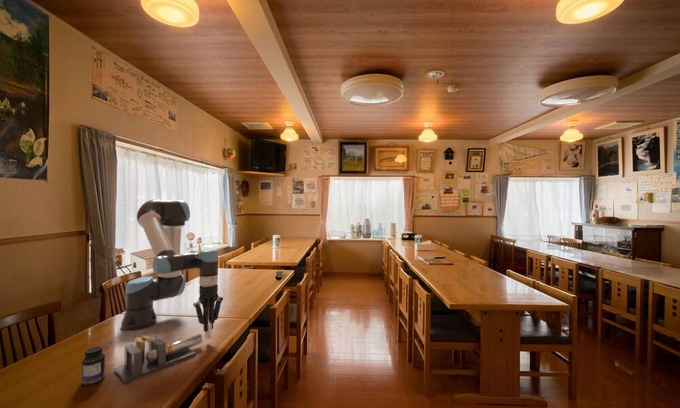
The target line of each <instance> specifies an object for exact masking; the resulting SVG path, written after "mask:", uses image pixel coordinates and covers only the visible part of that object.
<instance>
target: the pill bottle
mask: <svg viewBox="0 0 680 408" xmlns="http://www.w3.org/2000/svg"><path fill="white" fill-rule="evenodd" d="M105 368H106V355H105V353H104V352H103V346H100V345H99V346H98V345H95V346H91V347H88V348H87V349H85V350H84V358H82V360H81V385H82V386H92V385H95V384H98V383H100V382H101V381H103V380H104V378H105V377H106V376H105V374H106V372H105V370H106V369H105Z"/></svg>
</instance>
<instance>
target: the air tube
mask: <svg viewBox="0 0 680 408" xmlns="http://www.w3.org/2000/svg"><path fill="white" fill-rule="evenodd" d="M202 343H203V335H202V334H201V333H197V334H195V335H192V336H189V337H186V338H183V339H180V340H178V341H174V342H172V343H166V356H170V355H172V354H174V353H177V352H179V351H182V350H185V349H187V348H189V349H190V348H192V347H195V346H198V345H200V344H202ZM145 357H146V359H147V362H148V363H150V362H153V361H155V360H156V349H154V350H151V351H149V350H148V351H147V352H145Z"/></svg>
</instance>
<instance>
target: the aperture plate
mask: <svg viewBox="0 0 680 408" xmlns="http://www.w3.org/2000/svg"><path fill="white" fill-rule="evenodd" d="M150 338H151V337H148V336H147V335H142V336H141V337H139V336H137V337H135V340H134V345H135V346H136V347H137V348H139V349H140V350H141V351H142V360H144V359H145V357H146V342H148V343H149V342H151V339H150Z"/></svg>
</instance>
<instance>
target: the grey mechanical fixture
mask: <svg viewBox="0 0 680 408" xmlns="http://www.w3.org/2000/svg"><path fill="white" fill-rule="evenodd" d="M149 338H150V339H151V342H148V351H151V350H154V349H156V360H155V361H153V362H150V363H148V362H147V359H146V356H145V359H144V360H142V351H141V350H140V349H139V348H137V347H136V346H135V343H134V344H133V343H130V344H125V345H124V363H123V364H122V365H120V366H117V367H115V368H113V371H114V373H115V374H116V375H117V377H119V378H120V380H121V381H123V383H124V384H125V385H126V384H128V383H131V382H134V381H136V380H139V379H140V378H143V377H146V376H148V375H151V374H153V373H155V372H158V371H160V370H163V369H165V368H168V367H170V366H174V365H176V364H178V363H180V362H182V361H186V360H188V359H190V358H193V357H195V356H196V352H195V351H194V350H192V349H190V348H187V349H185V350H182V351H179V352H177V353H174V354H172V355H170V356H166V345H167V342H165V341H164V340H162V339H161V338H159V337H157V336H156V335H155V336H152V337H149ZM175 363H176V364H175Z"/></svg>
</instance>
